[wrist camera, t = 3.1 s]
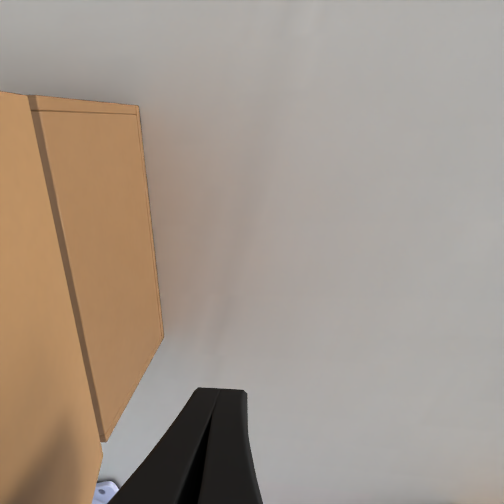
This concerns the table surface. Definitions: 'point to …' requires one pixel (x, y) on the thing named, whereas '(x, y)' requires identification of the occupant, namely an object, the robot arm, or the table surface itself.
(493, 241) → the table surface
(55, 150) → the carton
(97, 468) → the flap
